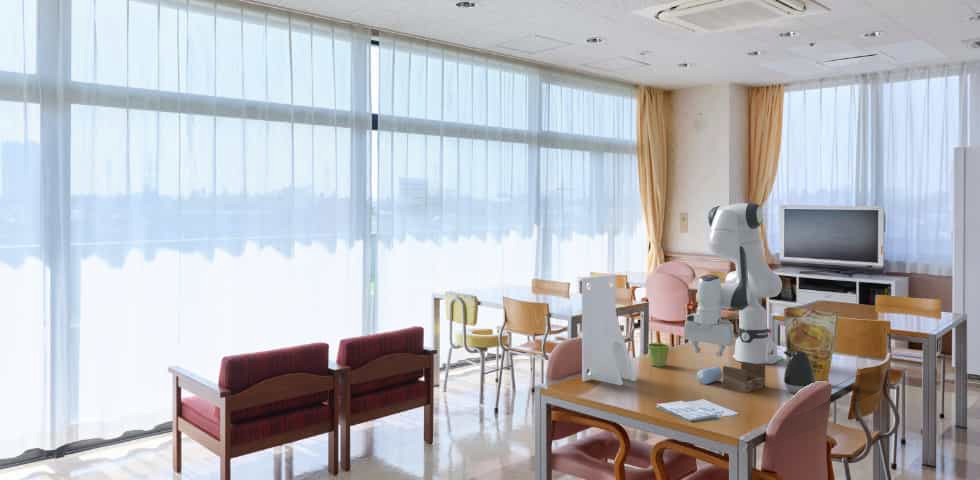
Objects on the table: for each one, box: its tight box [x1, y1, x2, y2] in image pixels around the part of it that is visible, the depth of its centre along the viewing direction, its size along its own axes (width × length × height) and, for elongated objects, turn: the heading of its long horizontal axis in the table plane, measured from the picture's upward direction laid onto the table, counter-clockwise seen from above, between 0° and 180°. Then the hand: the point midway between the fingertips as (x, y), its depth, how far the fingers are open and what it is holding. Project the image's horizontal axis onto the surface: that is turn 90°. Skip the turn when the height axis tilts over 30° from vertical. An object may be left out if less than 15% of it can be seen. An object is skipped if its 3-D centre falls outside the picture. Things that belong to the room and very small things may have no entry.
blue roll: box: [696, 366, 723, 386], centre depth 271 cm, size 9×5×5 cm, turn 130°
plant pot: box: [647, 342, 671, 368], centre depth 301 cm, size 9×9×9 cm
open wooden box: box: [722, 361, 766, 393], centre depth 263 cm, size 14×9×8 cm, turn 130°
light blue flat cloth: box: [655, 398, 740, 423], centre depth 232 cm, size 19×20×2 cm
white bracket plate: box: [581, 273, 637, 386], centre depth 276 cm, size 20×14×40 cm
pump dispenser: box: [783, 350, 815, 395], centre depth 254 cm, size 10×10×15 cm
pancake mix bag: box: [783, 306, 839, 383], centre depth 269 cm, size 7×19×28 cm, turn 42°
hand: (708, 354), depth 271 cm, fingers open, 8 cm apart
